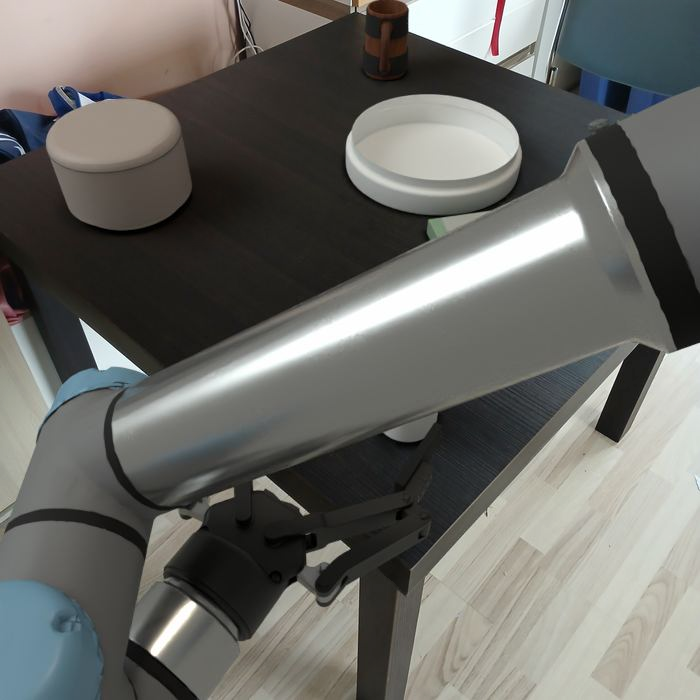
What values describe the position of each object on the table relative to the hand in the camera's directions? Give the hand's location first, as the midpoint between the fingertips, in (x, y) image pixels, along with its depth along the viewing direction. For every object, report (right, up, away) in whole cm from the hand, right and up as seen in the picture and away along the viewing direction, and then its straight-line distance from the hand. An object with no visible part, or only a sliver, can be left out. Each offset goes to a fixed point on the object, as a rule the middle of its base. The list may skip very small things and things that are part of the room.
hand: (365, 398), depth 56 cm
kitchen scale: (+18, +16, +33) cm, 41 cm away
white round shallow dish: (+11, +33, +48) cm, 60 cm away
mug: (+5, +56, +70) cm, 90 cm away
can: (+5, -3, +15) cm, 16 cm away
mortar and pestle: (+36, +25, +41) cm, 60 cm away
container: (-34, +26, +42) cm, 60 cm away
